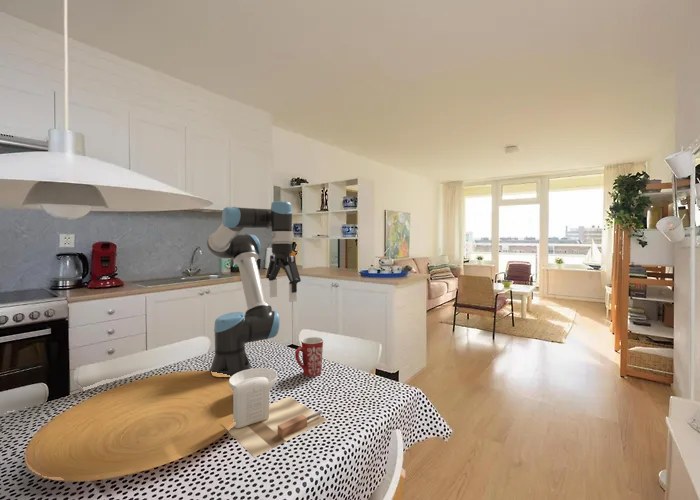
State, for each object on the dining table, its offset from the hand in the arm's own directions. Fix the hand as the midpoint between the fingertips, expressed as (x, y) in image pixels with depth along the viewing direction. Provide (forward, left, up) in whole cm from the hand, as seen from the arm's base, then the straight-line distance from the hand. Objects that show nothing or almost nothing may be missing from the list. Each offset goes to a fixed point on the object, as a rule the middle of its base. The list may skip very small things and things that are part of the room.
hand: (282, 299), depth 122 cm
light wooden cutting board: (+24, -18, -32) cm, 44 cm away
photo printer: (+19, -23, -30) cm, 42 cm away
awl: (+31, -14, -30) cm, 45 cm away
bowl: (+3, -14, -32) cm, 35 cm away
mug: (+1, +11, -32) cm, 34 cm away
